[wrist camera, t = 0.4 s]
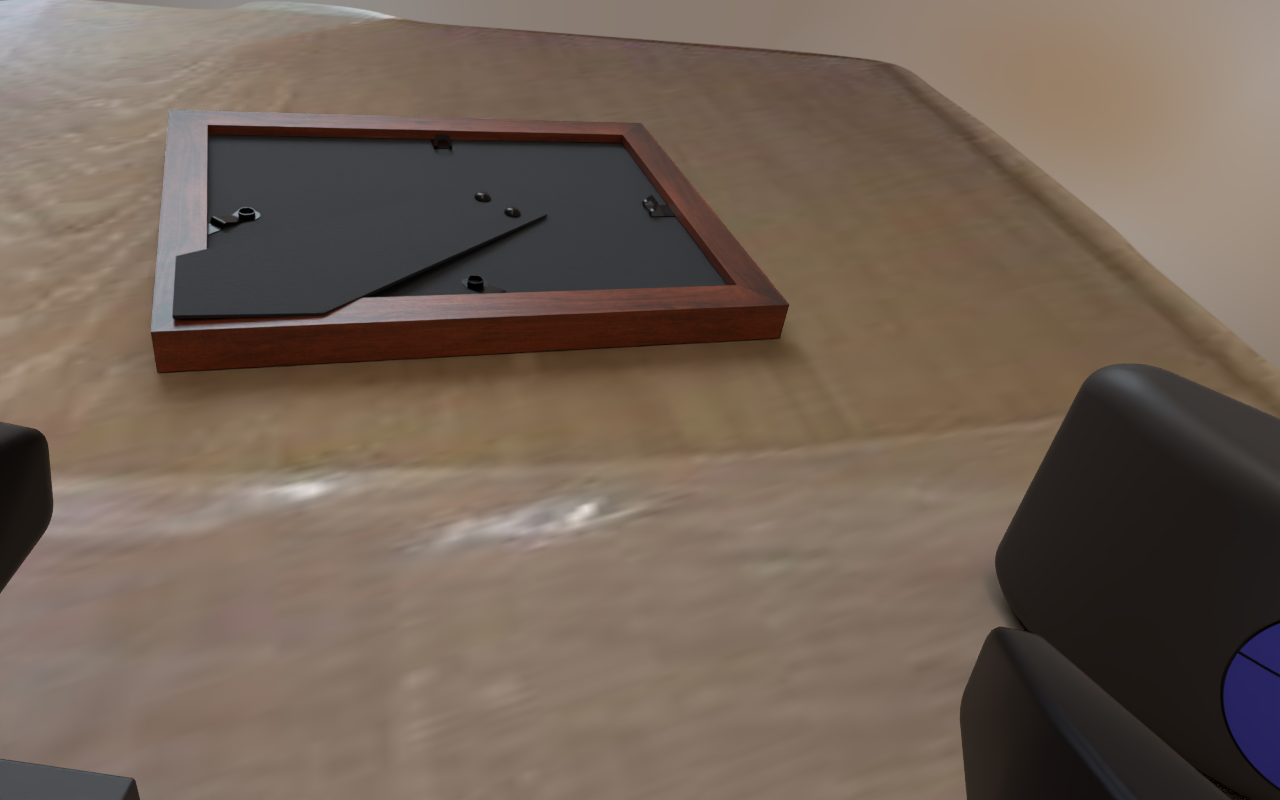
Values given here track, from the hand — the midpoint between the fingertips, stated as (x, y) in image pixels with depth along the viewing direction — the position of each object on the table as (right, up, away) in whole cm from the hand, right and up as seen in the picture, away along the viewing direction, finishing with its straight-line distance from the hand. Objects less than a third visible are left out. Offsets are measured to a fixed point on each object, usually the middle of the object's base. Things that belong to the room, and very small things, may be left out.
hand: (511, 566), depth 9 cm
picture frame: (-7, +9, +38) cm, 40 cm away
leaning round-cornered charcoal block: (+19, -8, +21) cm, 30 cm away
